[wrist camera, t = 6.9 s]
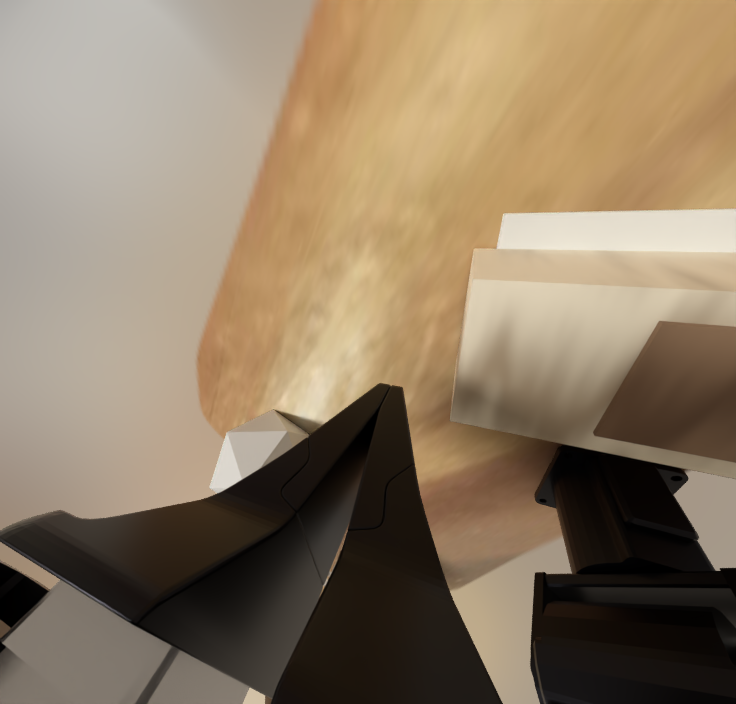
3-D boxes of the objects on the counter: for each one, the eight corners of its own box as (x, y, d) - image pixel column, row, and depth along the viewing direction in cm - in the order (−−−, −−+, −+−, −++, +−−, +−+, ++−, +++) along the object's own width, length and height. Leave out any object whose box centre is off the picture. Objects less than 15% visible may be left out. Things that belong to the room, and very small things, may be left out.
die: (247, 417, 31) (231, 514, 27) (210, 398, 23) (179, 532, 19) (319, 416, 31) (313, 512, 27) (306, 398, 23) (296, 528, 19)
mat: (628, 407, 15) (630, 410, 15) (469, 382, 18) (469, 384, 17) (757, 208, 10) (764, 208, 9) (503, 213, 12) (503, 213, 12)
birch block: (456, 363, 17) (705, 398, 13) (449, 424, 13) (807, 497, 9) (473, 248, 13) (827, 253, 10) (472, 280, 9) (1091, 312, 5)
